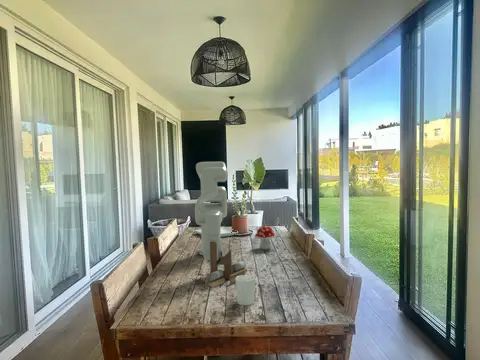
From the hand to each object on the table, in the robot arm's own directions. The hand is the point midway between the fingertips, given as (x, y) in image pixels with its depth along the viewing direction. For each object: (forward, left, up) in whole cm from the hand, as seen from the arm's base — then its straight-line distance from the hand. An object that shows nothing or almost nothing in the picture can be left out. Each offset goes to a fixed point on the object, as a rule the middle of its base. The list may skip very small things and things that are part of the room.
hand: (214, 272), depth 177 cm
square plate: (-67, +75, -2) cm, 100 cm away
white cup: (+33, -18, -2) cm, 38 cm away
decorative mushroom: (-9, +59, -2) cm, 60 cm away
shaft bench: (+11, 0, -1) cm, 11 cm away
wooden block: (+5, -1, -2) cm, 6 cm away
